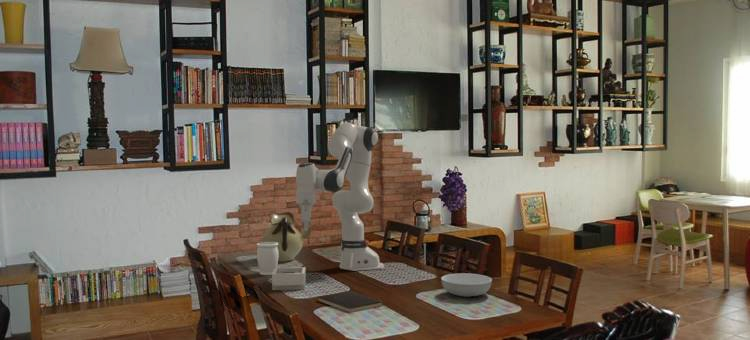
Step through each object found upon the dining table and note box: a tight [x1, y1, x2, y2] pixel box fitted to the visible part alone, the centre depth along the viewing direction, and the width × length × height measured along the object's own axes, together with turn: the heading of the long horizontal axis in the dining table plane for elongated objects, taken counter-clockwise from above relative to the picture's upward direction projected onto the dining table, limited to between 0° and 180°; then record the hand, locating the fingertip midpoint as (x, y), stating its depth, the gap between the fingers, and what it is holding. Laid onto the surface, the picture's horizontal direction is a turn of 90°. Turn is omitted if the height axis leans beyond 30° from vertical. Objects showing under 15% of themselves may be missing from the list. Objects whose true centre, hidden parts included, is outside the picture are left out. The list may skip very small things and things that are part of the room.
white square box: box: [271, 266, 307, 291], centre depth 292 cm, size 14×14×7 cm
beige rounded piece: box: [260, 211, 304, 263], centre depth 355 cm, size 22×24×25 cm
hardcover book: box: [317, 290, 384, 313], centre depth 261 cm, size 16×23×2 cm
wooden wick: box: [301, 215, 312, 239], centre depth 292 cm, size 4×2×10 cm, turn 95°
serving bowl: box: [440, 272, 493, 298], centre depth 273 cm, size 21×21×7 cm
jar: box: [256, 242, 279, 276], centre depth 319 cm, size 11×10×15 cm
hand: (306, 230), depth 292 cm, fingers closed on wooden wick, 2 cm apart
